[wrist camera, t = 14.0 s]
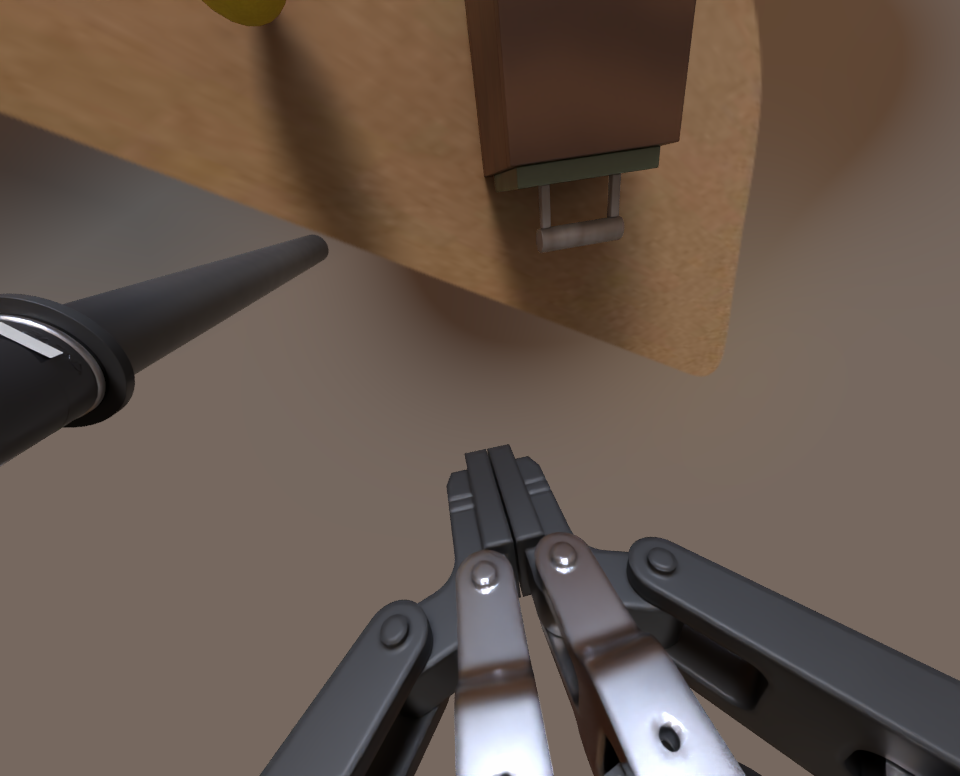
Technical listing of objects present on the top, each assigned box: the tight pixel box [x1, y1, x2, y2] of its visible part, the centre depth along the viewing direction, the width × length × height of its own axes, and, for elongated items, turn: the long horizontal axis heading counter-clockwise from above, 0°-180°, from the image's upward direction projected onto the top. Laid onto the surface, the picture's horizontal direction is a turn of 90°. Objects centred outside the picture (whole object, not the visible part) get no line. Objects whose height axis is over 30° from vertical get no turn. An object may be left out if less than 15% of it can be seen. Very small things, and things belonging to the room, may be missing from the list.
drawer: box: [494, 146, 660, 253], centre depth 24 cm, size 14×9×7 cm
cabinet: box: [465, 0, 696, 177], centre depth 22 cm, size 11×11×9 cm
